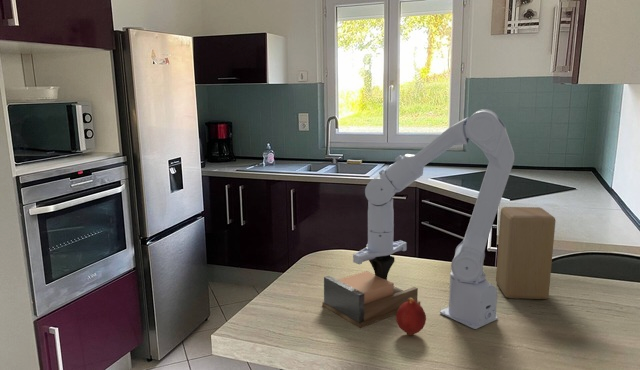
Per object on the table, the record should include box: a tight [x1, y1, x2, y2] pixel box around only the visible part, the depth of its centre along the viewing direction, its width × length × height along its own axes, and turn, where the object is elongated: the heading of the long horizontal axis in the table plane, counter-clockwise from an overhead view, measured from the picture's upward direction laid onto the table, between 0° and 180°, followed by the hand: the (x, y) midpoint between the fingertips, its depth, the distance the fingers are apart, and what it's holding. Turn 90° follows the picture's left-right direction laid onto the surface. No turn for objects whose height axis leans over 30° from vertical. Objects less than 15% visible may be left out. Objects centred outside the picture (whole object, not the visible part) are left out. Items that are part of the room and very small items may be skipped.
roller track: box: [321, 273, 421, 328], centre depth 112 cm, size 13×18×7 cm
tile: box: [338, 270, 395, 304], centre depth 110 cm, size 9×10×3 cm
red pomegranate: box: [395, 298, 427, 336], centre depth 98 cm, size 6×6×8 cm
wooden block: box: [495, 206, 557, 300], centre depth 117 cm, size 10×10×20 cm
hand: (380, 286), depth 113 cm, fingers closed, pressing on tile
